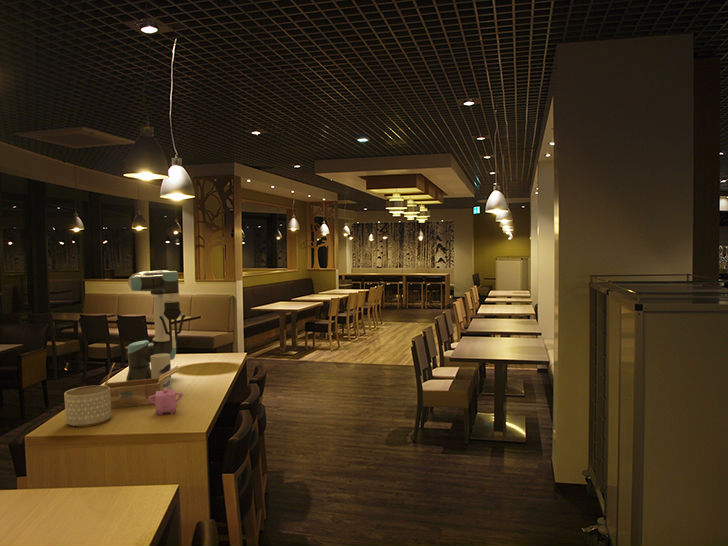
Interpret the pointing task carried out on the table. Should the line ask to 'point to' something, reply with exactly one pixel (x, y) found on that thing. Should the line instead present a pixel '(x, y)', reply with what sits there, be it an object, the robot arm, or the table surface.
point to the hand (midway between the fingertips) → (174, 347)
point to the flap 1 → (109, 374)
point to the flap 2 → (168, 373)
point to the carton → (133, 392)
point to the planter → (87, 405)
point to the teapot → (165, 401)
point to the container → (161, 369)
